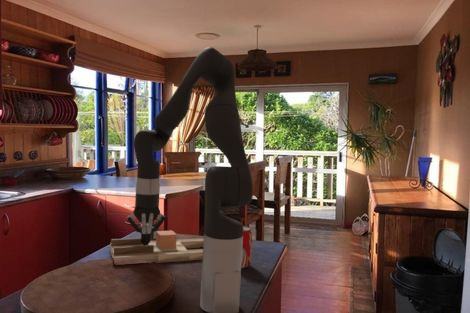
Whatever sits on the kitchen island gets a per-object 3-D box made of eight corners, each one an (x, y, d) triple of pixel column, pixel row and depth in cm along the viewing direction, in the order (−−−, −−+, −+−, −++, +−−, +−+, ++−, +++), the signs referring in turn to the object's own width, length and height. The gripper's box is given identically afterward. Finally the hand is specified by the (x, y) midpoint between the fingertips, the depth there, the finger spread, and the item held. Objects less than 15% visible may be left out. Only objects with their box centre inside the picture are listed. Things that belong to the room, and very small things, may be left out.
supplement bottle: (138, 241, 144) (139, 210, 144) (146, 237, 150) (148, 207, 149) (153, 243, 143) (154, 212, 142) (160, 239, 148) (162, 209, 148)
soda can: (248, 270, 119) (250, 231, 118) (225, 267, 120) (228, 229, 120) (252, 263, 126) (254, 226, 125) (230, 260, 127) (232, 224, 127)
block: (176, 247, 130) (176, 234, 129) (159, 249, 127) (160, 235, 127) (171, 243, 135) (172, 230, 134) (155, 244, 132) (156, 231, 132)
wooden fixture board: (224, 258, 130) (225, 244, 130) (114, 265, 117) (114, 250, 116) (209, 244, 145) (209, 232, 144) (110, 250, 131) (110, 236, 131)
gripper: (127, 193, 121) (125, 248, 122) (170, 193, 126) (167, 246, 127) (125, 189, 128) (123, 242, 129) (165, 190, 133) (163, 240, 134)
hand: (145, 244), depth 128 cm, fingers closed
